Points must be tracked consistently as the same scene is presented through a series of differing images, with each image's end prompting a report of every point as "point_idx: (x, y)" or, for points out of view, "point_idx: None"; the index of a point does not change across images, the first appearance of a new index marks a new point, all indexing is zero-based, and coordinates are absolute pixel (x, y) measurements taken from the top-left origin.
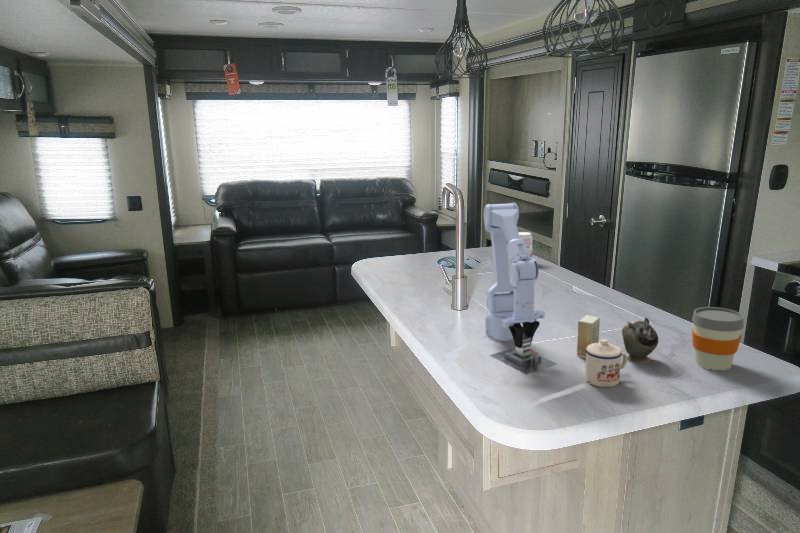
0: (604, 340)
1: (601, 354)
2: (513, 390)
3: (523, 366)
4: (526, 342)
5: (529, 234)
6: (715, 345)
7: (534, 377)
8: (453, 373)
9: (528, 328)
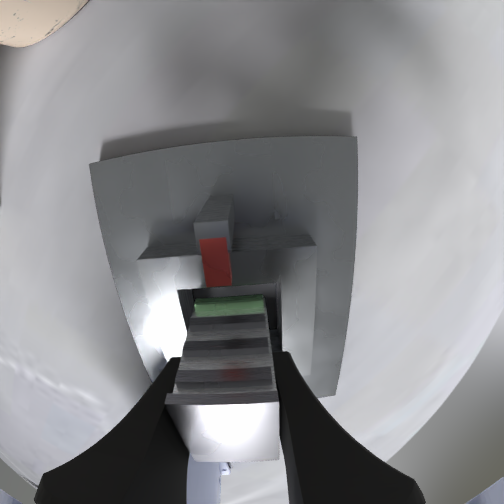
0: None
1: None
2: (461, 87)
3: (296, 233)
4: (234, 372)
5: None
6: None
7: (304, 112)
8: (488, 321)
9: (163, 489)
